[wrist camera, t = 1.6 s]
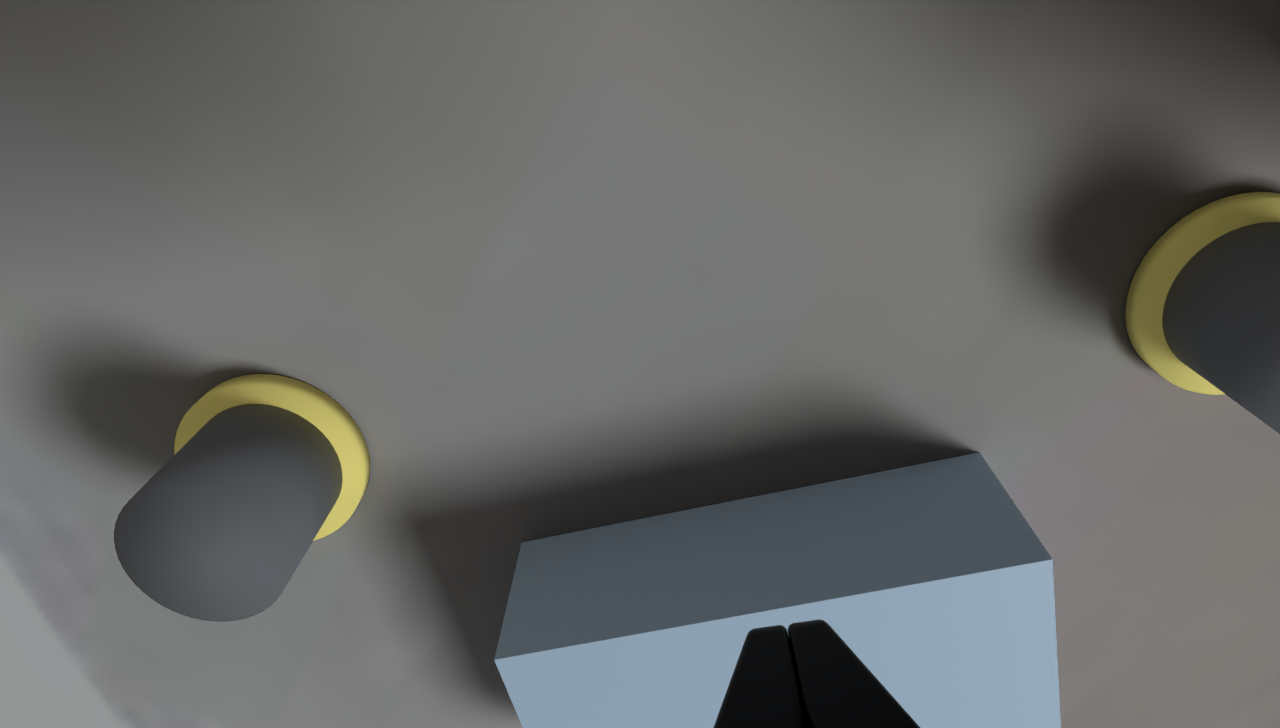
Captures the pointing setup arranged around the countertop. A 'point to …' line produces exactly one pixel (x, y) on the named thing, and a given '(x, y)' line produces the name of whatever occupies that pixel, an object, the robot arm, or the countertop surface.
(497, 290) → the countertop surface
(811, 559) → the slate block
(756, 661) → the robot arm
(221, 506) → the bollards
